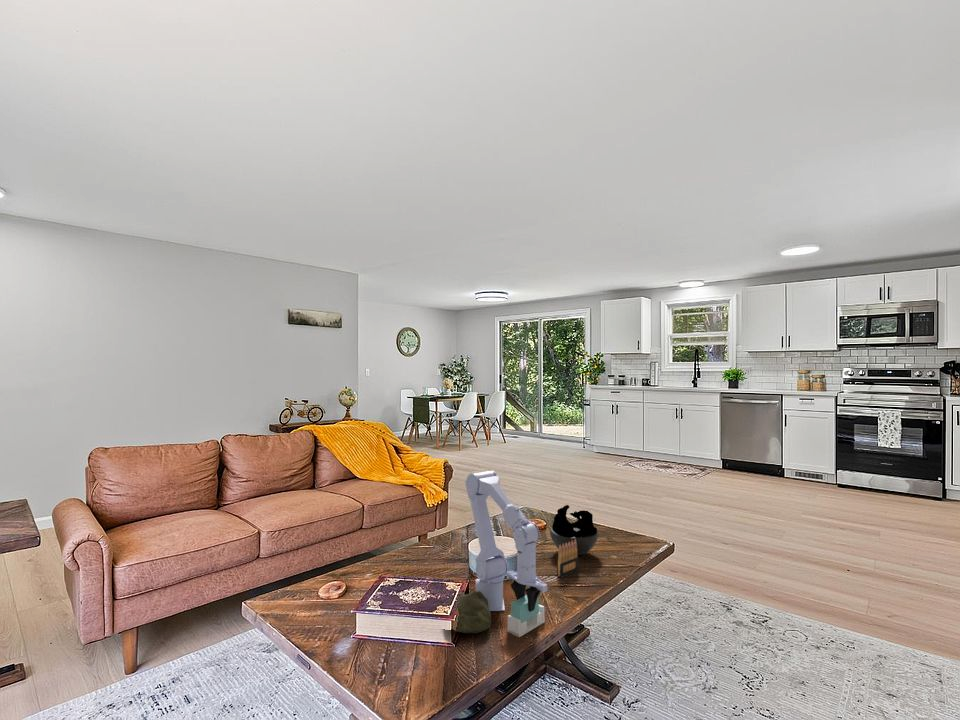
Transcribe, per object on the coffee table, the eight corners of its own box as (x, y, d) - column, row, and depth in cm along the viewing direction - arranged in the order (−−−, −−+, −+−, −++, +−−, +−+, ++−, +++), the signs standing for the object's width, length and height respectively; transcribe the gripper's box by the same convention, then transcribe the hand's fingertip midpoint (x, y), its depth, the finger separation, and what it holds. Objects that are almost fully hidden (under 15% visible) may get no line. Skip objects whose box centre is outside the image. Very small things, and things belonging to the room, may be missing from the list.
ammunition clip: (560, 577, 194) (560, 545, 194) (556, 576, 196) (556, 544, 196) (578, 570, 201) (578, 539, 201) (574, 568, 203) (574, 537, 203)
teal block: (520, 623, 154) (520, 606, 154) (511, 619, 156) (511, 602, 156) (538, 612, 160) (538, 596, 160) (529, 609, 163) (529, 593, 163)
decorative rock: (439, 643, 152) (435, 610, 152) (450, 613, 168) (446, 583, 167) (489, 642, 150) (485, 608, 150) (495, 611, 166) (492, 581, 165)
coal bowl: (599, 564, 206) (599, 517, 206) (549, 561, 209) (549, 515, 209) (596, 546, 226) (596, 503, 226) (550, 544, 229) (550, 501, 229)
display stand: (519, 637, 153) (519, 621, 153) (507, 631, 156) (507, 615, 156) (544, 621, 162) (544, 606, 161) (533, 616, 165) (533, 601, 165)
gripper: (553, 566, 156) (553, 611, 156) (516, 554, 167) (516, 596, 167) (539, 573, 151) (539, 620, 151) (502, 560, 161) (502, 603, 161)
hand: (526, 608), depth 159 cm, fingers closed on teal block, 3 cm apart
